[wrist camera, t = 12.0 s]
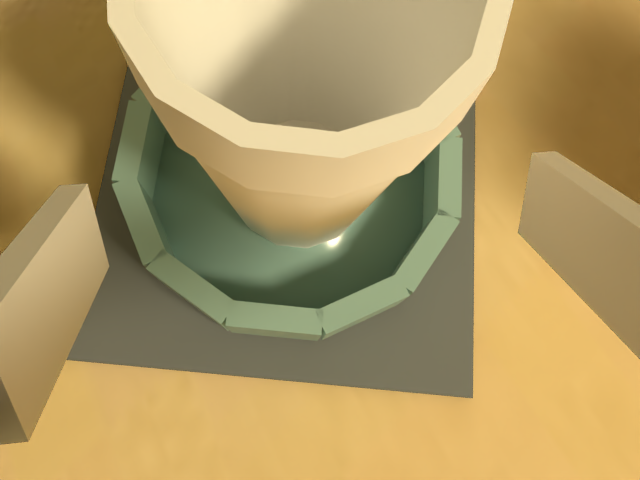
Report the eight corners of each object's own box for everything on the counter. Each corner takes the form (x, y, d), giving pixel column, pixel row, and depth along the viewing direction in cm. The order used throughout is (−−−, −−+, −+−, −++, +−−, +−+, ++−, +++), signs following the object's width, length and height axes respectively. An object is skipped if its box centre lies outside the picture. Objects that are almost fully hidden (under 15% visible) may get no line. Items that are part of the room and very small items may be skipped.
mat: (67, 359, 23) (62, 359, 22) (135, 49, 27) (132, 43, 27) (468, 397, 24) (472, 397, 23) (472, 88, 28) (475, 83, 28)
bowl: (111, 322, 23) (82, 311, 20) (167, 43, 27) (151, -5, 24) (435, 354, 23) (459, 348, 20) (442, 75, 28) (463, 33, 24)
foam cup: (161, 151, 24) (32, -95, 12) (325, 64, 26) (361, -228, 14) (268, 322, 23) (247, 240, 10) (436, 215, 24) (593, 34, 12)
